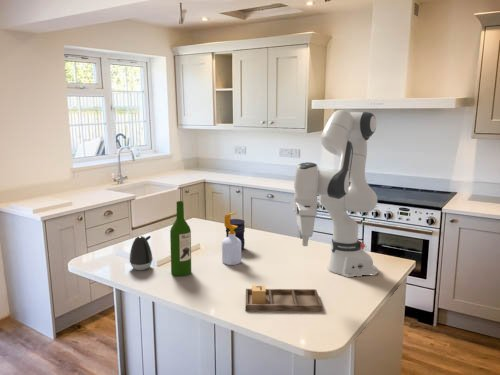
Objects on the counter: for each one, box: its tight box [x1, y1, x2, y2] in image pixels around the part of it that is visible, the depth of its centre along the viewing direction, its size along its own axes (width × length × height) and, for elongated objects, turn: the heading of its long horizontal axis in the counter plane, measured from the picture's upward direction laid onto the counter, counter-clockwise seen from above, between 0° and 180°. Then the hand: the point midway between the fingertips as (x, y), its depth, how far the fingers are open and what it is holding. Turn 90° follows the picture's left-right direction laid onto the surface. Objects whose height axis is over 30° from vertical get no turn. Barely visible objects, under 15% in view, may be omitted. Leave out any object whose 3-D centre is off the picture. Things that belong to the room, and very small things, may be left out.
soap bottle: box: [221, 211, 242, 266], centre depth 199 cm, size 9×9×25 cm
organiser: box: [245, 288, 323, 312], centre depth 159 cm, size 28×14×2 cm, turn 90°
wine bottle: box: [169, 200, 192, 278], centre depth 184 cm, size 9×9×32 cm
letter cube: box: [251, 284, 266, 304], centre depth 159 cm, size 5×5×5 cm
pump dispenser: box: [129, 235, 154, 271], centre depth 190 cm, size 10×10×15 cm
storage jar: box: [225, 218, 246, 252], centre depth 218 cm, size 10×10×15 cm
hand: (303, 242), depth 159 cm, fingers open, 8 cm apart
